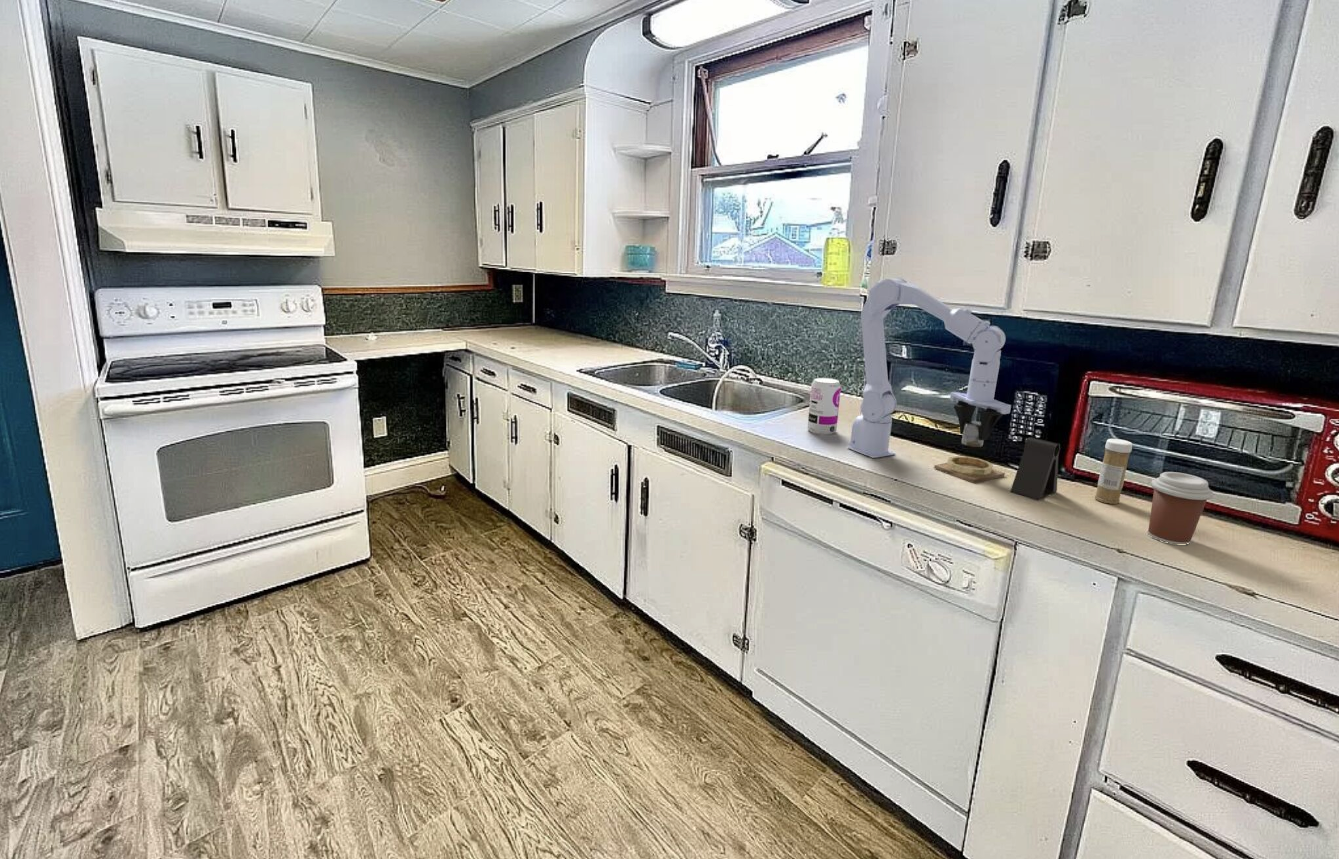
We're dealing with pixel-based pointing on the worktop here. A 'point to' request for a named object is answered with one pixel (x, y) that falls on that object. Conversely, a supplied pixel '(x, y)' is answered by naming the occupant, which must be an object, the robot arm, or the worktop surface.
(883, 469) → the worktop surface
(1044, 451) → the phone stand
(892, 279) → the robot arm
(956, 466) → the ring plate
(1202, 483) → the coffee cup
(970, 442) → the cylinder
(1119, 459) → the sprinkles bottle
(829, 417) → the supplement can
